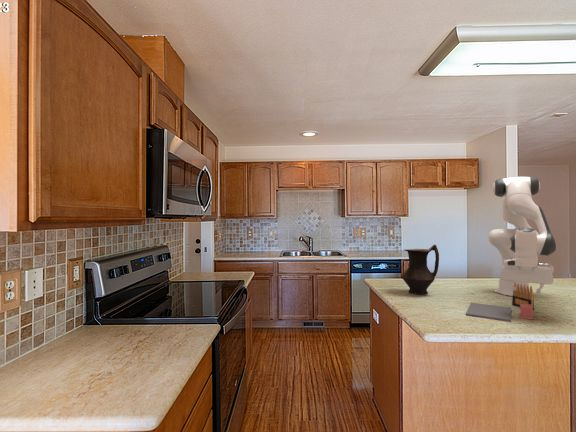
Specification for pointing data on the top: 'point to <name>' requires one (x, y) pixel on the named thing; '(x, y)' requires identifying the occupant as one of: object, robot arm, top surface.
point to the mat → (489, 311)
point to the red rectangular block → (526, 311)
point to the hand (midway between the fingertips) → (526, 291)
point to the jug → (420, 270)
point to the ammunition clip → (522, 296)
